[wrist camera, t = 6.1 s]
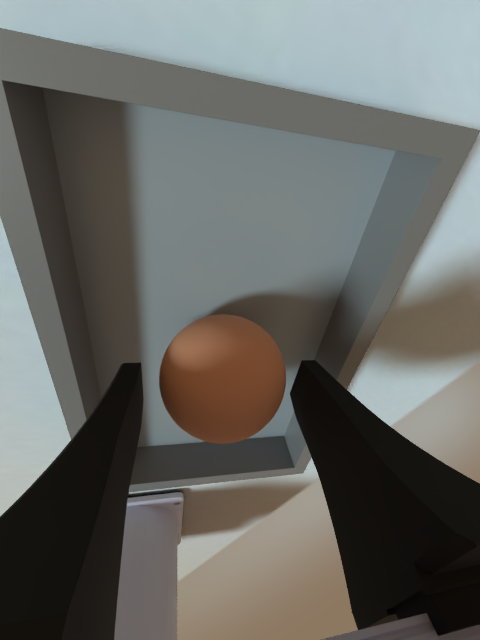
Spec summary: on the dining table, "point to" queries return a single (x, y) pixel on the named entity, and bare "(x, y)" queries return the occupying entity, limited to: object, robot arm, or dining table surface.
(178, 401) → the ball
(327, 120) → the walled pen
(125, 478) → the robot arm
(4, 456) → the dining table surface
